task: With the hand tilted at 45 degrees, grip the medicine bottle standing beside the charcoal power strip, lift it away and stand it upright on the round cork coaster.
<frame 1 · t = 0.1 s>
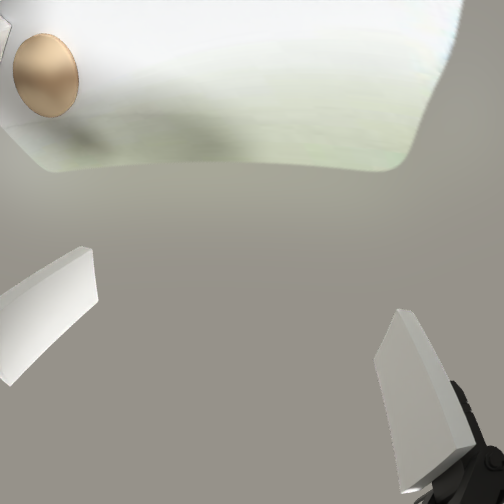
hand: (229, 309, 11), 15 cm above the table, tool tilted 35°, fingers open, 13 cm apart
coaster: (44, 76, 17), on the table
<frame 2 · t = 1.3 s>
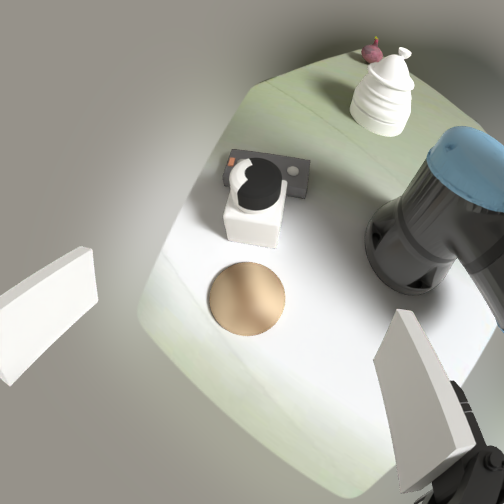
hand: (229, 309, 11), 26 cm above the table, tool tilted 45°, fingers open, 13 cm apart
vegetable: (369, 64, 63), on the table
honey pot: (376, 117, 52), on the table
medicine bottle: (256, 224, 42), on the table
power strip: (267, 177, 45), on the table
coaster: (247, 298, 37), on the table
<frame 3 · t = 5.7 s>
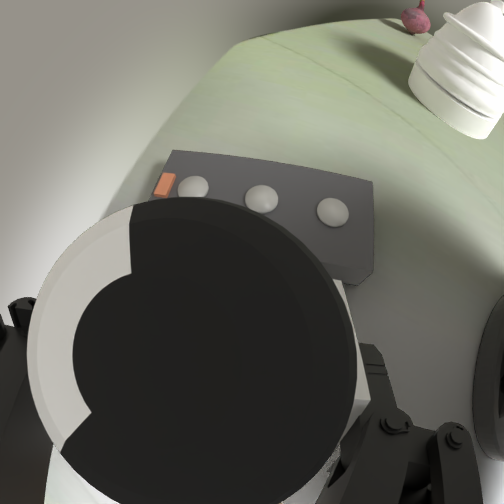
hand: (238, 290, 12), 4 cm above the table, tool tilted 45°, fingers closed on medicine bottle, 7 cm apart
vegetable: (411, 35, 36), on the table
honey pot: (450, 104, 25), on the table
medicine bottle: (229, 368, 14), on the table, touching gripper
power strip: (260, 222, 18), on the table
when the fingers open (6 cm above the table, at t = 10.1 s): medicine bottle drops 2 cm, resting on coaster.
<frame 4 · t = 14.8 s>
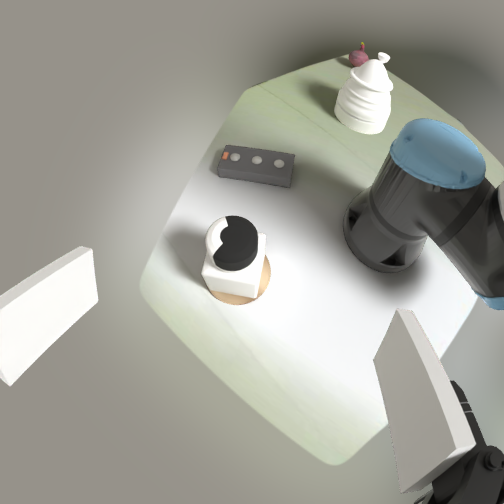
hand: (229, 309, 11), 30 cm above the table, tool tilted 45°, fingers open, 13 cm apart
vegetable: (356, 68, 69), on the table
honey pot: (359, 117, 59), on the table
medicine bottle: (237, 272, 43), resting on coaster
power strip: (256, 169, 51), on the table
coaster: (237, 272, 43), on the table
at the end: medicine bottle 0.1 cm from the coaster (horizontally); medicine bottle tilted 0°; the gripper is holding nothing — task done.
